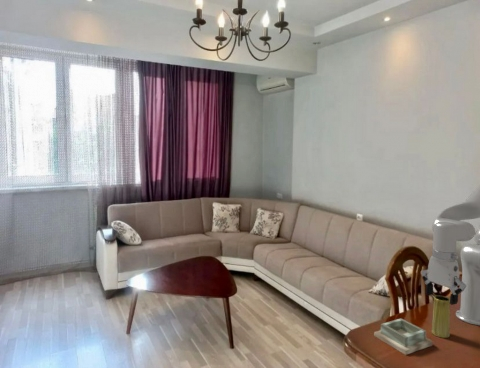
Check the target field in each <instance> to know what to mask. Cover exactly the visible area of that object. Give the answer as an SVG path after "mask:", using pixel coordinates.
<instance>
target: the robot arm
mask: <svg viewBox="0 0 480 368" xmlns="http://www.w3.org/2000/svg"><path fill="white" fill-rule="evenodd" d="M479 218H480V184H479V185H478V186H477V187H476V188H475V190H474V191H472V193H471V194H470V195H469V196H468V198H467V199H466V200H465V201H463V202H460V203H456V204H454V205H452V206H449V207H446V208H445V209H443V210H442V211H441V212H440V213H439V214H438V215H437V216H436V217H435V219H434V220H433V222H432V226H431V229H432V233H433V234H432V235H433V236H432V237H433V238H432V251H431V252H432V255H431V256H430V258H429V261H428V265H427V269H423V270H421V271H420V275H421V278H422V280H423V282H424V284H425V295H427V296H431V295H433V294H434V284H436V285H439V286H443V287H444V288H449V290H450V292H451V293H450V297H449V299H450V305H451V306H452V305H453V306H454V305H457V304H458V302H459V294H460V308H459V310H458V309H457V310H456V312H455V316H456V318H458V319H459V320H460V321H462V322H465V323H467V324H470V325H474V326H480V225H479V226H478V228H477V230H476V228H475V226H474V225H473V224H472V223H470V222H469V220H474V219H479ZM465 220H466V221H465ZM467 220H468V222H467ZM473 238H474V241H475V243H468V244H464V245H463V246H462V247H461V249H460V262H461V269H462V270H461V271H462V272H461V279H460V267H459V262H458V260H459V255H458V254H457V242H468V241H471V240H472V239H473ZM458 286H459V287H458Z"/></svg>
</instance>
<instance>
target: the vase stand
mask: <svg viewBox="0 0 480 368" xmlns="http://www.w3.org/2000/svg"><path fill="white" fill-rule="evenodd" d="M373 336H374V337H375V338H377V339H379V340H381V341H382V342H384V344H385V343H386V344H387V345H388V346H390V347H392V348H393V349H395V350H397V351H398V352H400V353H401V354H403V355H405V356H407V355H409V354H412V353H416V352H417V351H420V350H423V349H424V350H425V349H426V348H429V347H432V346H433V345H434V341H433V340H431V339H429V338H427V330H425V329H423V328H421V327H419V326H417V325H415V324H413V323H411V322H410V321H407V320H406V319H403V318H397V319H394V320H391V321H387V322H383V323H381V324H380V329H379V330H377V331H374V332H373Z"/></svg>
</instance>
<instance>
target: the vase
mask: <svg viewBox="0 0 480 368" xmlns="http://www.w3.org/2000/svg"><path fill="white" fill-rule="evenodd" d="M450 305H451V304H450V297H447V296H445V295H437V294H436V295H434V297H433V311H432V321H431V326H432V327H431V334H432V335H433V336H435V337H438V338H443V339H447V338H449V337H450V335H451V334H450V308H451V307H450Z"/></svg>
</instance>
